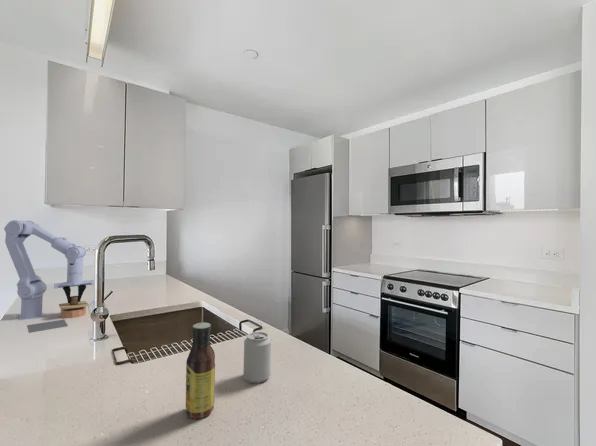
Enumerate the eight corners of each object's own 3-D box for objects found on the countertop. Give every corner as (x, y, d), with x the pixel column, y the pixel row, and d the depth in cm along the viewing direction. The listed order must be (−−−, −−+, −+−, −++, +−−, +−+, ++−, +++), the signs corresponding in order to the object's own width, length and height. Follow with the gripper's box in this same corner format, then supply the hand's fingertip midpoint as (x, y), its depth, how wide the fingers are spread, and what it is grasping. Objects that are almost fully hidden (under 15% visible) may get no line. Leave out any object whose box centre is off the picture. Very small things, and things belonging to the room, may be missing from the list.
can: (248, 387, 79) (249, 341, 79) (240, 374, 85) (241, 332, 86) (274, 380, 82) (275, 337, 82) (264, 369, 89) (265, 328, 89)
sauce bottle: (189, 404, 71) (191, 319, 71) (216, 403, 71) (218, 319, 72) (181, 422, 64) (183, 329, 64) (210, 421, 65) (213, 328, 65)
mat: (27, 326, 123) (27, 325, 123) (64, 320, 131) (64, 319, 131) (28, 333, 114) (29, 332, 114) (68, 327, 123) (68, 326, 123)
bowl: (59, 315, 138) (60, 308, 138) (83, 312, 144) (83, 304, 144) (62, 320, 131) (62, 312, 131) (87, 316, 137) (87, 308, 138)
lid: (58, 305, 138) (59, 296, 138) (85, 302, 145) (85, 293, 145) (61, 309, 131) (61, 300, 131) (88, 306, 137) (89, 296, 138)
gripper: (55, 275, 130) (54, 306, 130) (95, 272, 140) (94, 301, 140) (54, 273, 135) (52, 303, 135) (92, 270, 145) (91, 298, 145)
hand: (73, 302), depth 138 cm, fingers closed on lid, 3 cm apart
